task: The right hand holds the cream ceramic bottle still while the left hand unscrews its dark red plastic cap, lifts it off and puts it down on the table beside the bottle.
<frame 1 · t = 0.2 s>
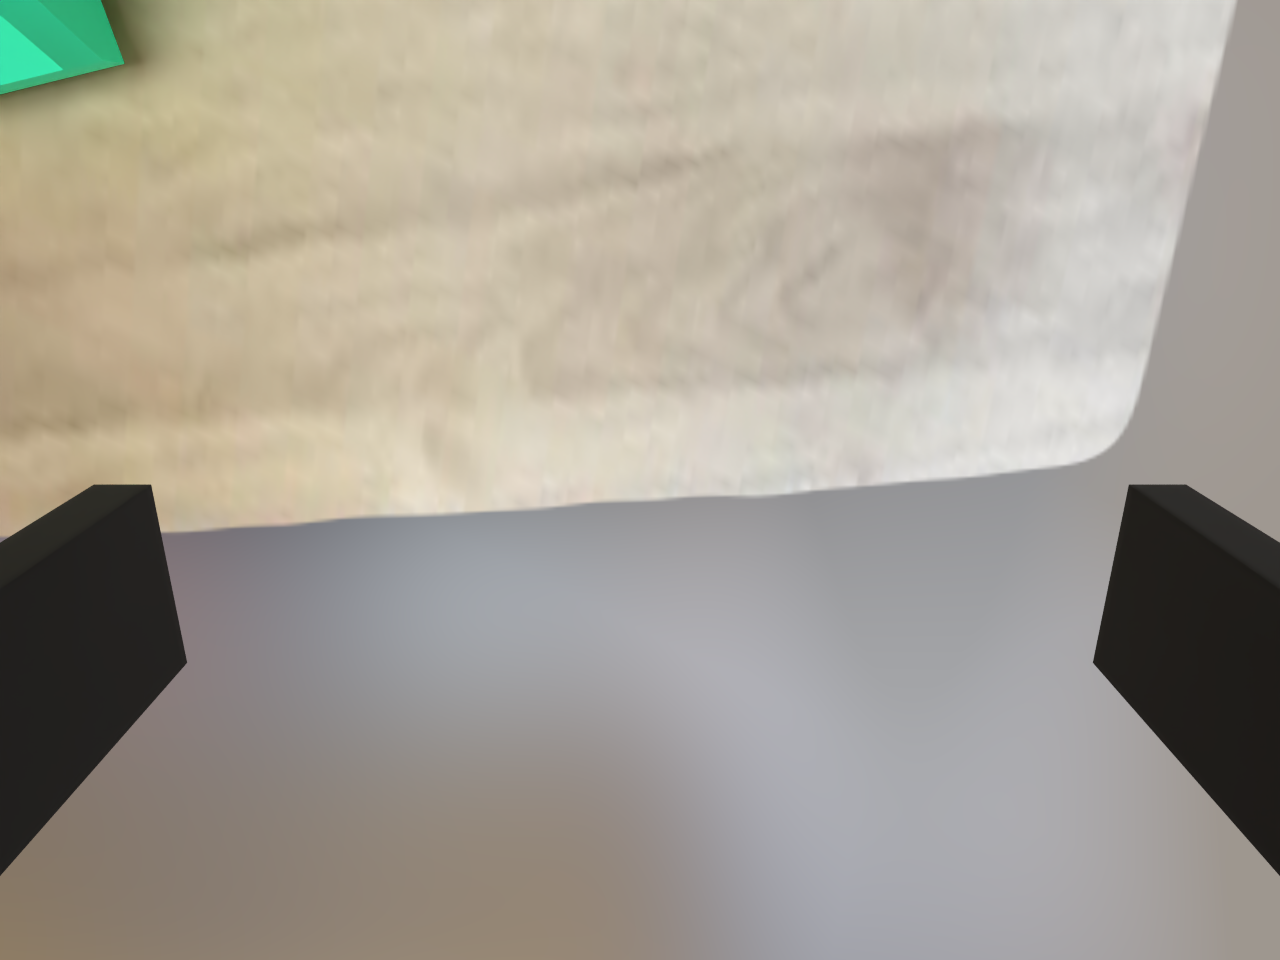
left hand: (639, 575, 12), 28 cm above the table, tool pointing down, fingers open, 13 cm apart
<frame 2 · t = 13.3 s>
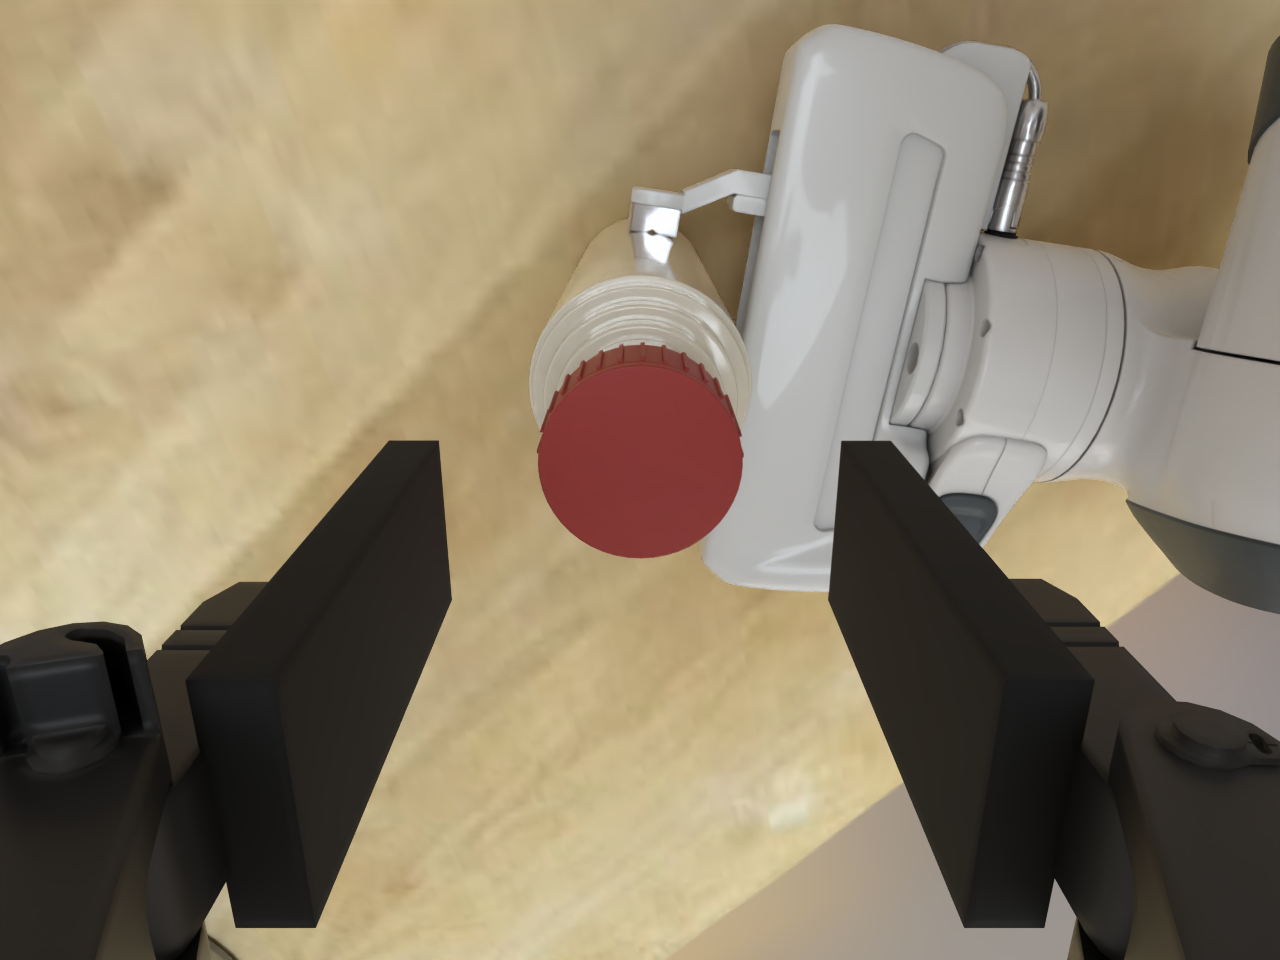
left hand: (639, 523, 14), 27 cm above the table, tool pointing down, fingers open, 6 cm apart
right hand: (616, 303, 33), fingers closed on bottle, 5 cm apart
cap: (640, 460, 17), point 24 cm above the table, screwed on, not yet turned
bottle: (640, 281, 39), on the table, touching right hand
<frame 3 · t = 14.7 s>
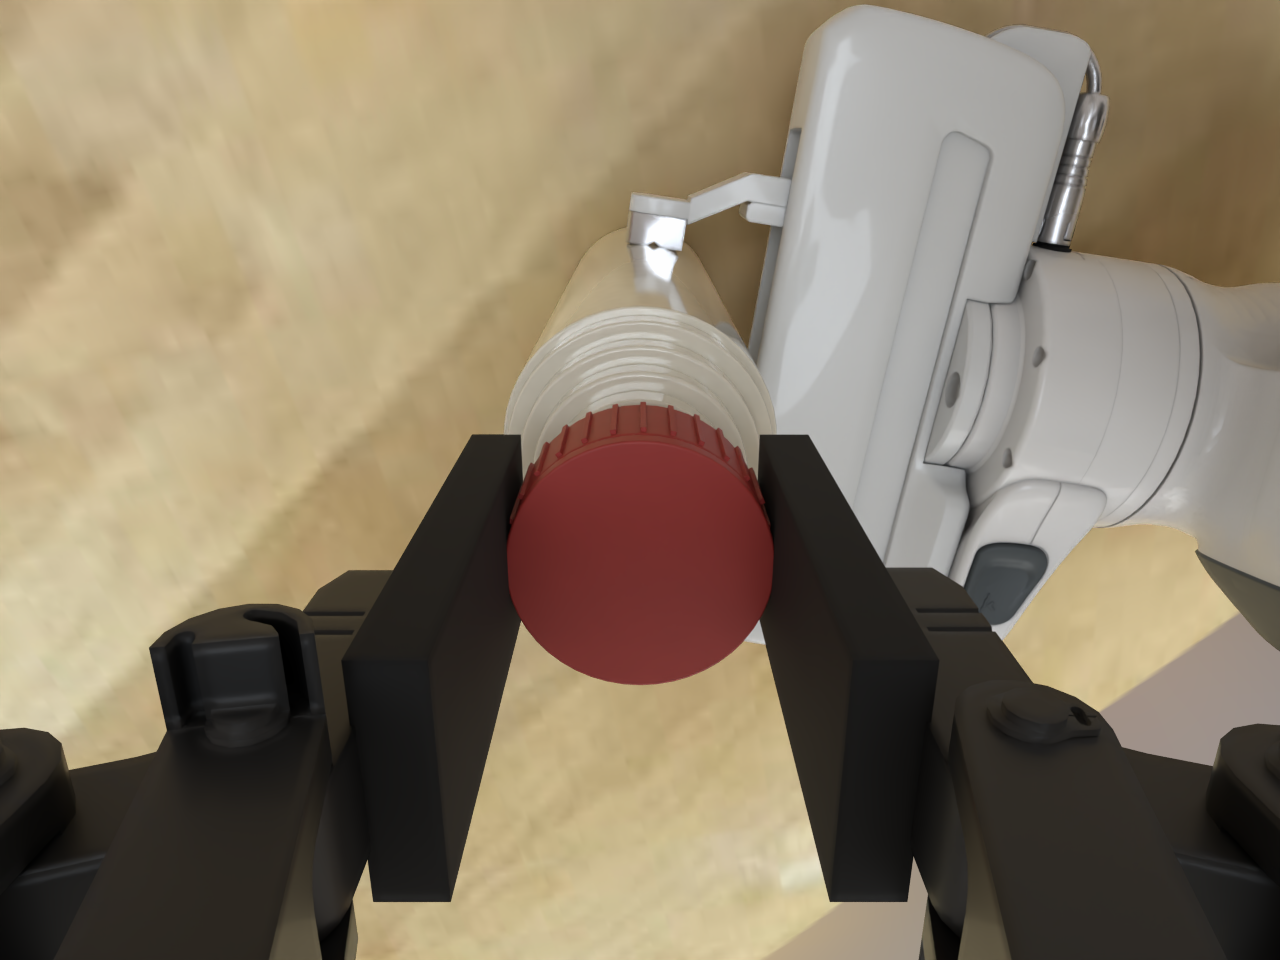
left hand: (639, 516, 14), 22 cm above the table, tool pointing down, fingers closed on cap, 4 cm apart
right hand: (613, 325, 29), fingers closed on bottle, 5 cm apart
cap: (640, 560, 13), point 24 cm above the table, screwed on, not yet turned, touching left hand
bottle: (640, 297, 35), on the table, touching right hand
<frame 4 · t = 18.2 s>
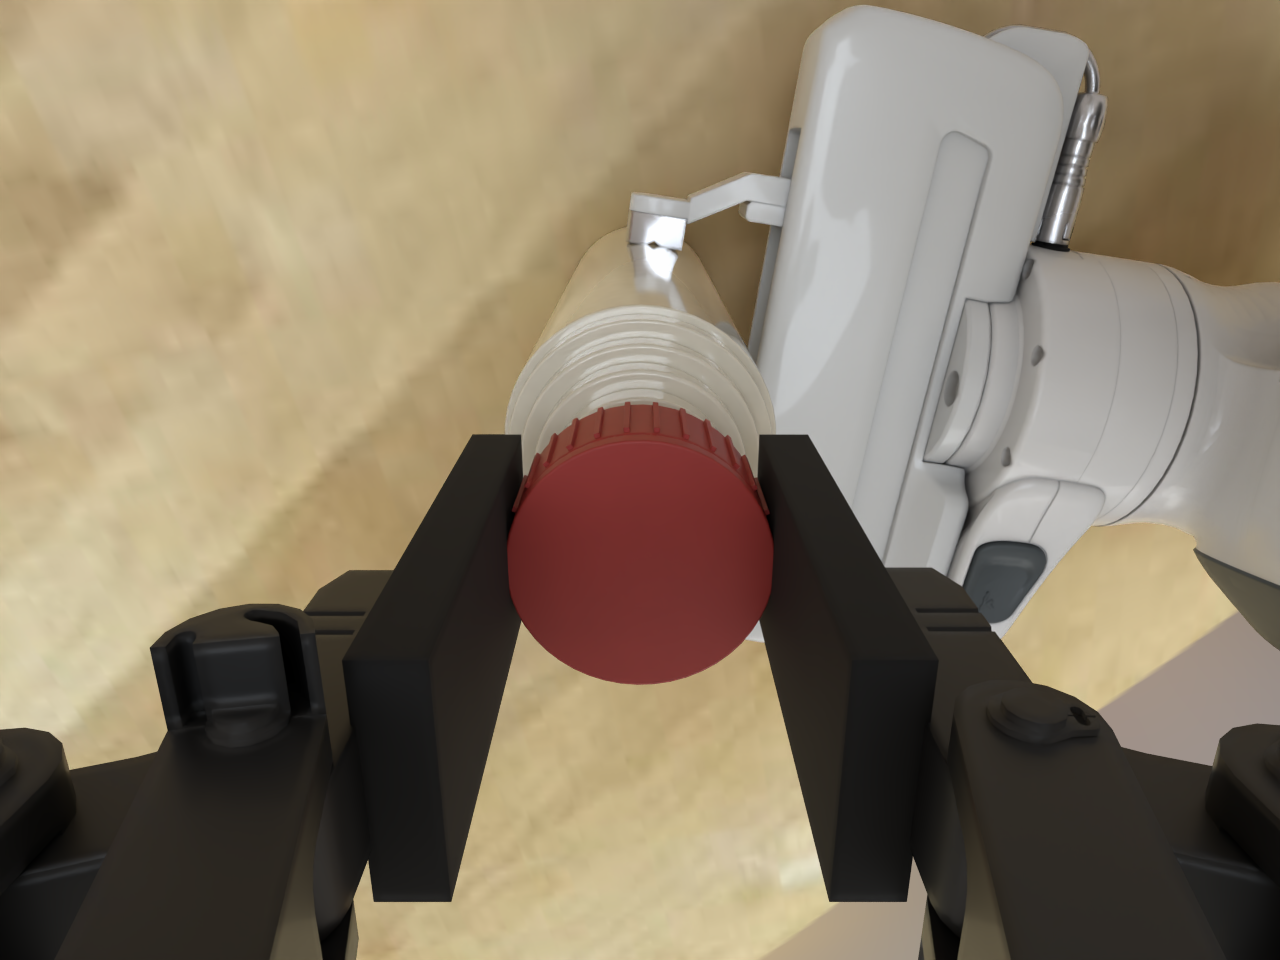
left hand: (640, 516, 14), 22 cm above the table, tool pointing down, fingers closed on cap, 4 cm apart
right hand: (613, 324, 29), fingers closed on bottle, 5 cm apart
cap: (640, 560, 13), point 24 cm above the table, turned 119° so far, risen 0.1 cm, still on its thread, touching left hand
bottle: (640, 297, 35), on the table, touching right hand
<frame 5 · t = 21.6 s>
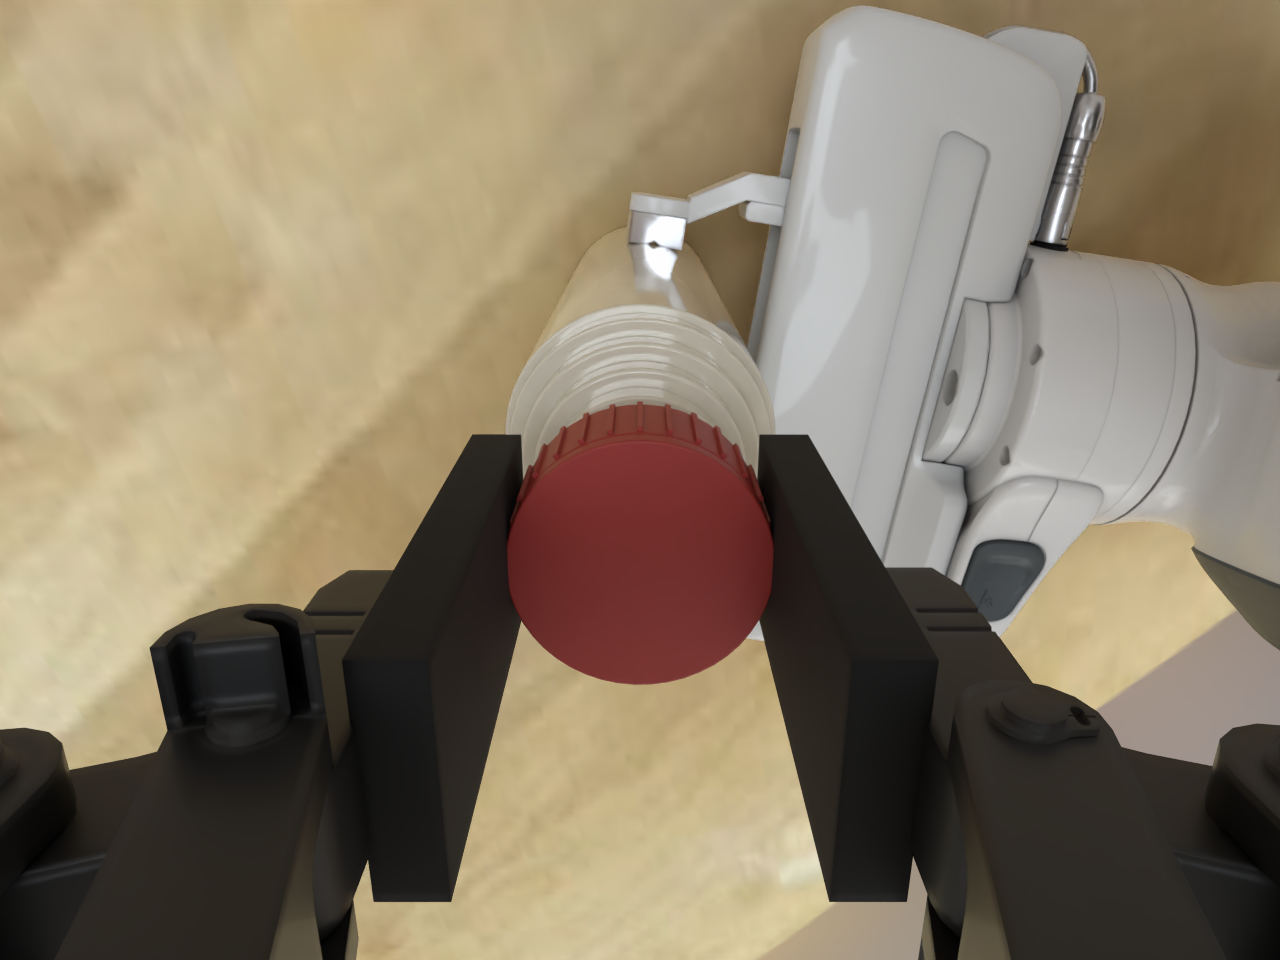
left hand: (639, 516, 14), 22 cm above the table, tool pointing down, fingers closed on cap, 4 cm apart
right hand: (613, 323, 29), fingers closed on bottle, 5 cm apart
cap: (640, 560, 13), point 24 cm above the table, turned 237° so far, risen 0.2 cm, still on its thread, touching left hand
bottle: (640, 296, 35), on the table, touching right hand
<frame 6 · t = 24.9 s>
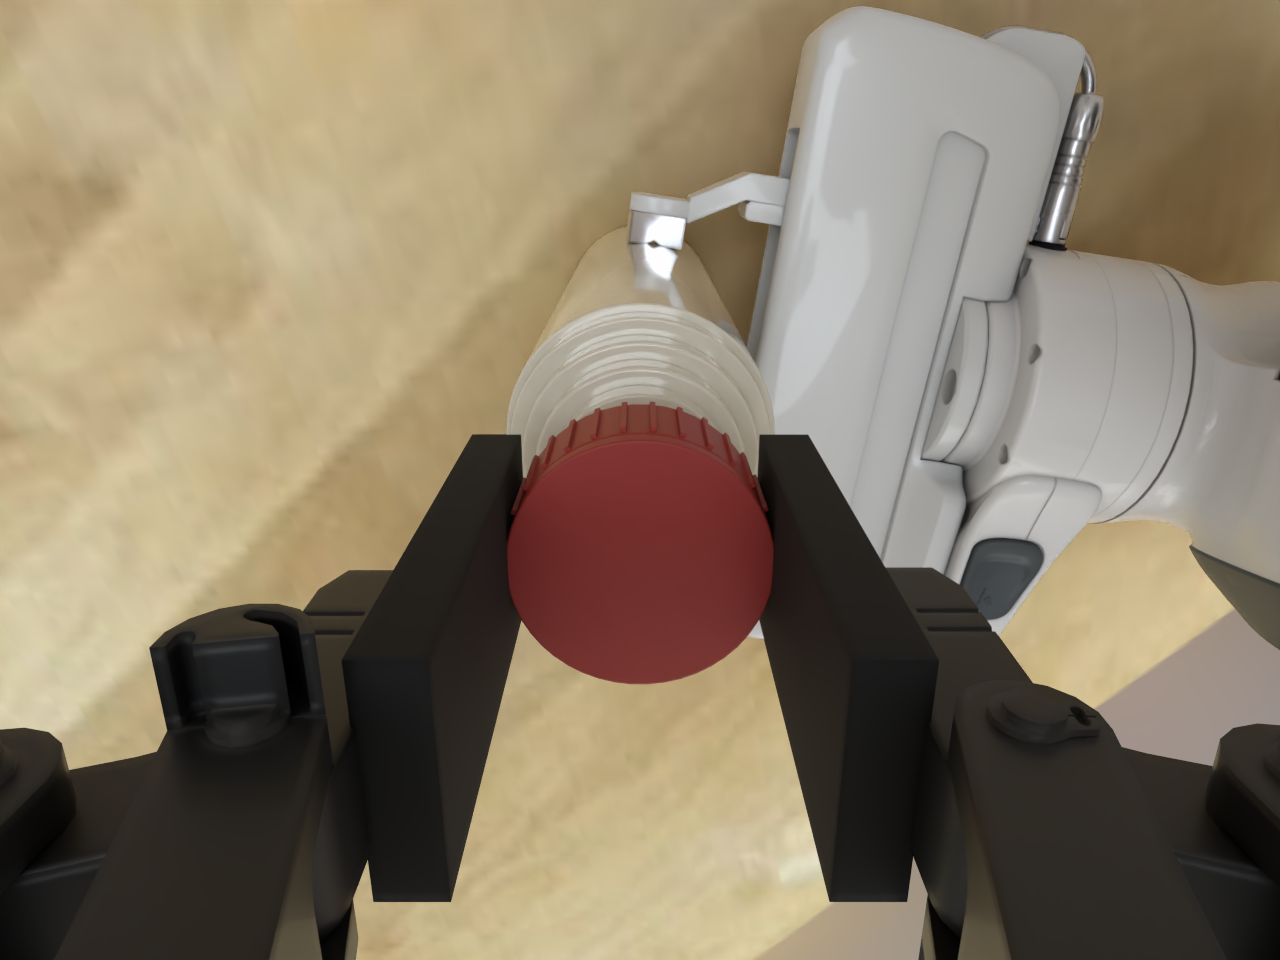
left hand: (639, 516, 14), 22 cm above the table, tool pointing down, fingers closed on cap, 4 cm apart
right hand: (613, 323, 29), fingers closed on bottle, 5 cm apart
cap: (640, 559, 13), point 24 cm above the table, turned 356° so far, risen 0.3 cm, still on its thread, touching left hand
bottle: (640, 296, 35), on the table, touching right hand
when the left hand's fingers open (1 cm above the table, at t = 33.7 s): cap drops 1 cm, point 2 cm above the table.
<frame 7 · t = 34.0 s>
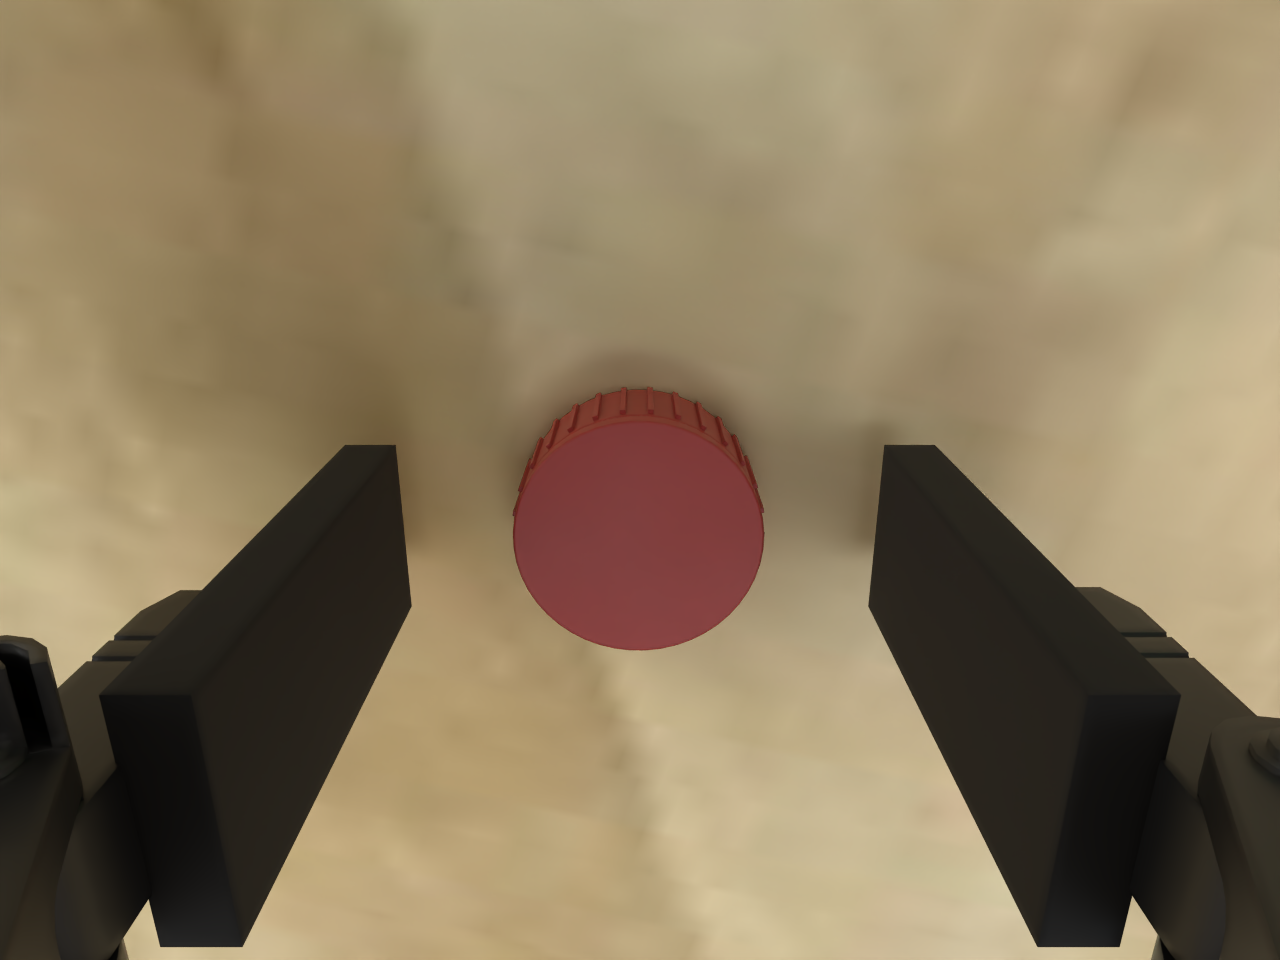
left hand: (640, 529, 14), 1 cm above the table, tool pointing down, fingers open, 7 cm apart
cap: (638, 533, 14), point 2 cm above the table, off its thread
when the right hand's fingers open (6 cm above the table, at t = 35.1 s): bottle stays where it is, on the table.
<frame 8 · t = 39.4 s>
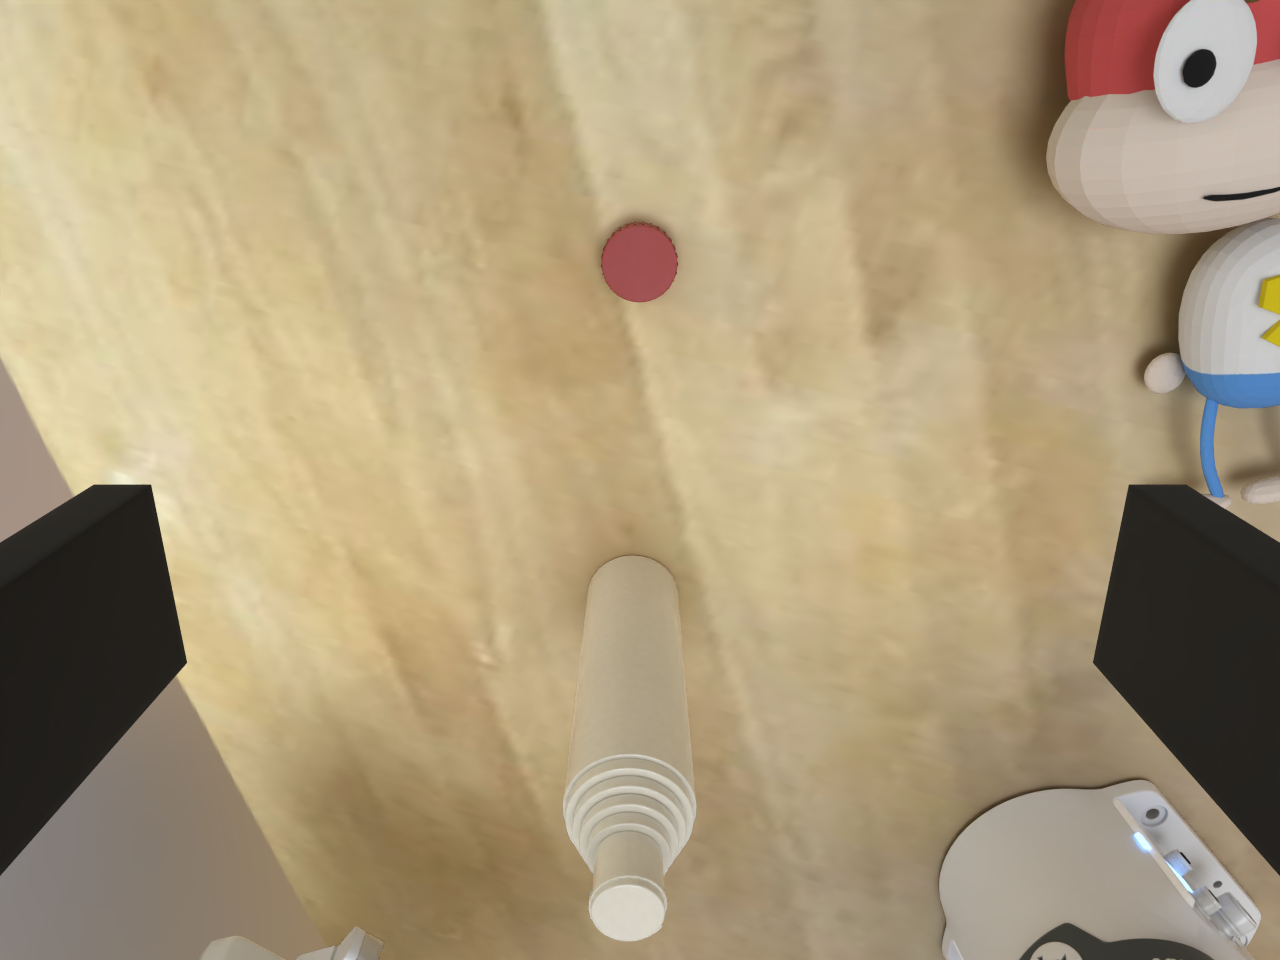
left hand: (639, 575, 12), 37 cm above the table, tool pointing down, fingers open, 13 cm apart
cap: (639, 263, 45), point 2 cm above the table, off its thread
toy: (1192, 233, 46), on the table
bottle: (632, 596, 54), on the table
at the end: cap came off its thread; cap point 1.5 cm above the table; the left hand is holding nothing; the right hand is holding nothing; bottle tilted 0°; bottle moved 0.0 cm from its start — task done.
